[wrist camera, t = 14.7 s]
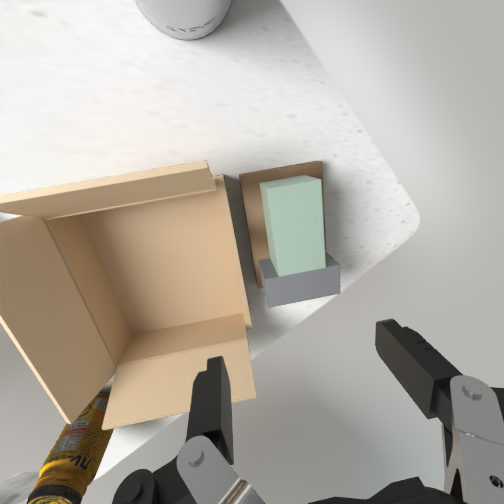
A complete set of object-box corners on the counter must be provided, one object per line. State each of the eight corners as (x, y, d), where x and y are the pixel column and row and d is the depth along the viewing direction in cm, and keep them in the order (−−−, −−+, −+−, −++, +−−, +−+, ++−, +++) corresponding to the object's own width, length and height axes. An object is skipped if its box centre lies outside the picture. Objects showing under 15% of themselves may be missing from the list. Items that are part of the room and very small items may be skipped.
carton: (45, 185, 26) (-79, 208, 15) (219, 156, 27) (217, 158, 16) (120, 349, 35) (74, 438, 24) (251, 323, 36) (264, 397, 25)
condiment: (74, 417, 38) (14, 525, 27) (79, 377, 36) (14, 477, 25) (124, 422, 40) (87, 526, 29) (132, 384, 37) (94, 481, 26)
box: (245, 185, 27) (250, 191, 22) (317, 172, 27) (337, 176, 23) (262, 285, 32) (268, 307, 27) (323, 273, 32) (340, 293, 27)
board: (238, 174, 28) (239, 175, 27) (316, 160, 28) (321, 161, 27) (257, 282, 33) (258, 288, 32) (322, 270, 34) (327, 275, 32)
